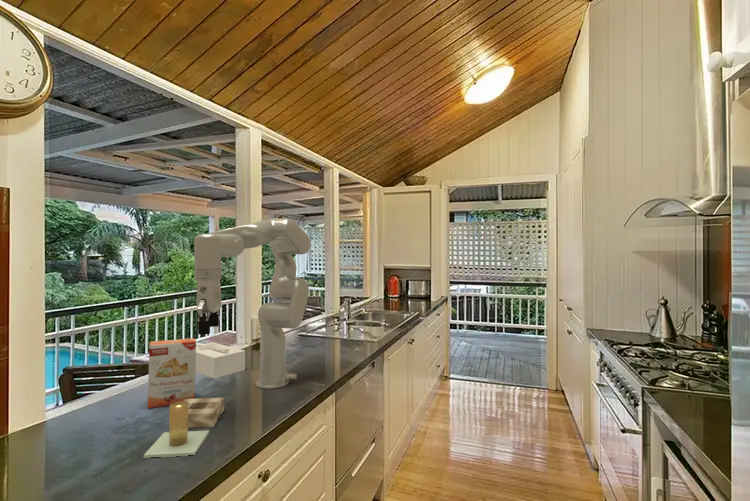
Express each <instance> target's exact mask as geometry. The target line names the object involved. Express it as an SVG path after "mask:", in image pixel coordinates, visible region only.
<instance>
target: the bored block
mask: <svg viewBox="0 0 750 501" xmlns="http://www.w3.org/2000/svg"><path fill="white" fill-rule="evenodd" d="M184 401H186V402H188V429H192V428H193V429H195V428H194V427H196V428H214V427H215V425H216V423H217V422H218V421H219V419H218V418H220V417H221V416H220V415H222V414H223V413H224V411H225V397H206V398H205V397H204V398H195V399H185V400H184ZM222 412H223V413H222Z"/></svg>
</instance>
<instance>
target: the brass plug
mask: <svg viewBox="0 0 750 501" xmlns="http://www.w3.org/2000/svg"><path fill="white" fill-rule="evenodd" d="M168 421H169V422H168V423H169V425H168V432H169V445H170V446H180V445H183V444H185V443H187V441H188V431H189V428H188V402H186V401H179V402H175V403H172V404H170V405H169V420H168Z"/></svg>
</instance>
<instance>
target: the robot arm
mask: <svg viewBox="0 0 750 501" xmlns="http://www.w3.org/2000/svg"><path fill="white" fill-rule="evenodd" d="M193 238H194V239H193V245H194V246H193V247H194V248H193V249H194V250H193V252H194V253H193V255H194V260H193V261H194V263H193V264H194V281H197V284H196V310H197V333H198V335H200V336H201V335H210V334H211V327H212V328H215V327H216V328H217V327H219V326H220V314H219V313H220V311H219V310H220V309H221V308H222V304H223V303H222V288H221V281H220V280H222V258H235V257H238V256H240V255H241V254H242V253H243V252H244V250H245V249H254V248H258V247H260V246H263V245H266V244H268V243H270V244H269V246H270V249H271V251H272V255H273V256H274V259H275V260H274V261H275V268H274V272H273V276H272V277H271V278H272V279H271V283H270V285H269V290H268V291H269V293H268V294H269V296H270V298H271V299H273V300H276V301H281V302H275V301H273V302H266V303H263V304H262V305H261V306H260V307H259V308H258V312H257V320H258V324H259V332H260V346H259V351H260V354H259V378H258V379H256V380H255V386H256V387H258V388H260V389H265V390H266V389H267V390H268V389H269V390H271V389H279V388H283V387H285V386H287V385H288V384H290V380H297V373H294V372H288V371H287V369H286V343H287V342H286V341H287V339H286V334H285V332H284V329H290V330H291V329H293V330H294V329H297V328H298V327H300V325H301V324H302V322H303V318H304V315H305V310H306V307H307V304H308V299H309V295H310V293H309V292H310V287H309V283H308V281H307V280H306V279H305V278H302V277H296V274H297V273H296V272H297V265H296V262H295V260H294V259H293V257H292V255H305V254H307V253H308V252H310V249H311V246H312V245H311V239H310V237H309V235H308V234H307V232H305V231H304V230H303V228H302V227H301V226H300V225H299V224H298V223H297V222H296V221H294V220H293V219H291V218H288V217H286V218H285V217H283V218H281V217H280V218H279V217H278V218H276V217H275V218H267V219H262V220H260V221H256V222H253V223H250V224H243V225H240V226H235V227H230V228H226V229H225V228H223V229H221V230H220V229H219V230H216V231H212V232H209V233H207V234H206V233H203V234H201V233H200V234H196V235H195V236H194V237H193ZM282 301H284V302H282ZM286 302H287V303H286ZM288 302H289V303H288Z"/></svg>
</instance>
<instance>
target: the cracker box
mask: <svg viewBox="0 0 750 501" xmlns="http://www.w3.org/2000/svg"><path fill="white" fill-rule="evenodd" d="M196 340H197V339H196V337H195V338H181V339H180V338H179V339H170V340H169V339H168V340H167V339H165V340H154V341H150V342H149V346H148V347H149V350H148V352H149V354H148V380H147V381H148V382H147V383H148V384H147V387H148V388H147V389H148V390H147V409H152V408H159V407H167V406H170V404H172V403H175V402H179V401H184V400H185V399H196V398H195V397H196V395H195V394H196V372H195V367H196V346H197V341H196Z"/></svg>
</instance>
